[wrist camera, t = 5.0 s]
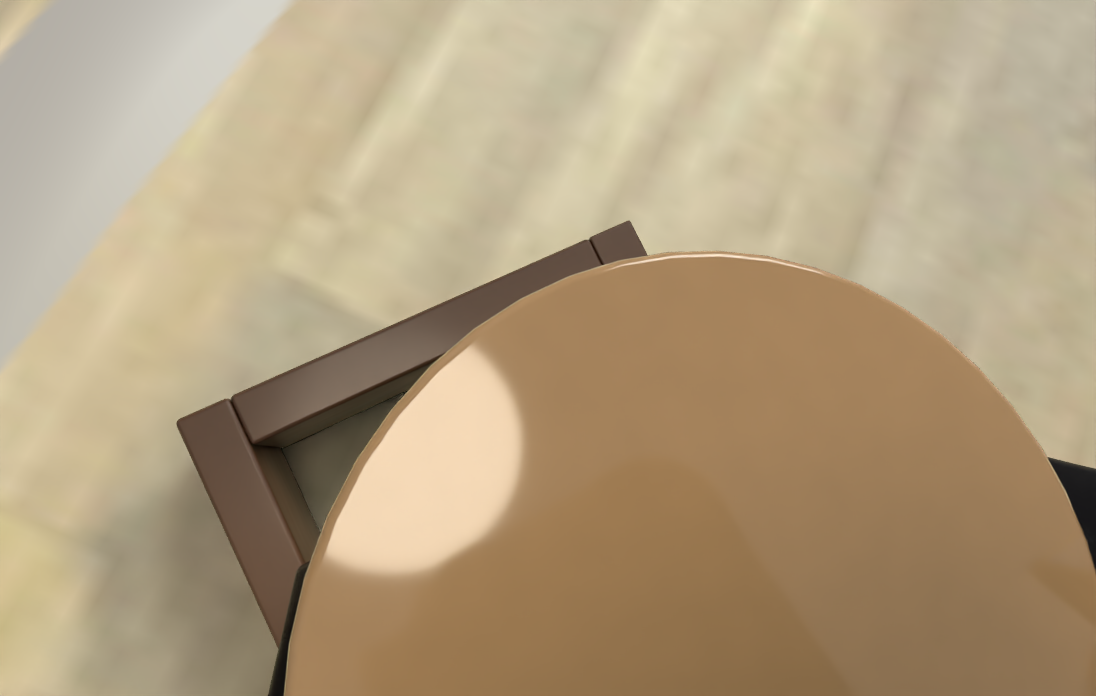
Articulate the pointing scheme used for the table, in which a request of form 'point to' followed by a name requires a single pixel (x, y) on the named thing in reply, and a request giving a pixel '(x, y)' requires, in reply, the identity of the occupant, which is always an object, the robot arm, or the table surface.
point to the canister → (699, 507)
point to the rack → (340, 415)
